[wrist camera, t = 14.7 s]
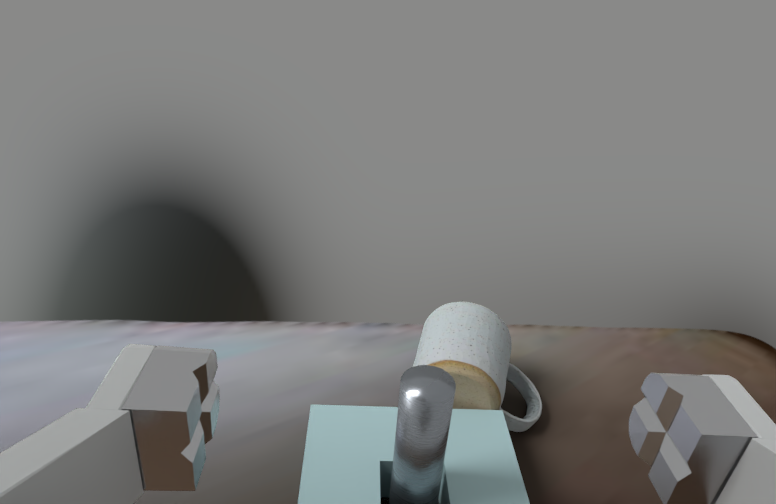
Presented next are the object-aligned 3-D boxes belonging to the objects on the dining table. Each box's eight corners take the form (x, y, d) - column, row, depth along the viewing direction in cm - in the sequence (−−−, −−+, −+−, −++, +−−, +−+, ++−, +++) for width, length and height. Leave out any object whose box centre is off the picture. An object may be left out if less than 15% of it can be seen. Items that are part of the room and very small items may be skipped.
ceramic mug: (401, 427, 43) (411, 349, 39) (418, 362, 50) (428, 291, 47) (539, 458, 41) (562, 380, 38) (536, 387, 49) (556, 315, 45)
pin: (387, 548, 34) (402, 401, 29) (386, 505, 37) (399, 364, 31) (435, 548, 34) (459, 403, 29) (430, 506, 37) (451, 366, 31)
